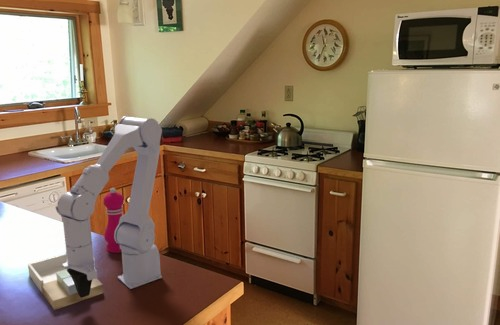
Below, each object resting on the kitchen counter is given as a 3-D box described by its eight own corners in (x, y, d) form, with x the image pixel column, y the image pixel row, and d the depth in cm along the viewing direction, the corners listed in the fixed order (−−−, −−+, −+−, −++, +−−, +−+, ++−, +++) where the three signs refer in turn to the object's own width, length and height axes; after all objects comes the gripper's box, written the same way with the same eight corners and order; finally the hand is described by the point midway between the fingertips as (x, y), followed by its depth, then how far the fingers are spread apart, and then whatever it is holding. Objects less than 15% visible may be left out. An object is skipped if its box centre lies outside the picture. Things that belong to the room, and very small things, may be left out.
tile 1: (74, 275, 116) (73, 266, 116) (80, 281, 113) (79, 273, 112) (57, 280, 113) (56, 272, 113) (62, 287, 110) (61, 278, 110)
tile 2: (81, 282, 113) (80, 273, 112) (87, 289, 109) (86, 280, 109) (63, 287, 110) (62, 279, 109) (69, 295, 107) (68, 286, 106)
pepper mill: (120, 241, 143) (116, 183, 138) (134, 247, 139) (129, 187, 134) (100, 249, 138) (95, 188, 133) (114, 255, 133) (109, 193, 128)
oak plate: (88, 278, 120) (87, 270, 119) (103, 293, 112) (102, 284, 112) (42, 293, 112) (41, 284, 112) (54, 310, 105) (53, 300, 104)
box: (73, 262, 129) (72, 251, 128) (88, 278, 120) (87, 266, 119) (29, 275, 121) (27, 264, 120) (42, 293, 112) (40, 280, 111)
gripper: (51, 237, 104) (57, 289, 108) (72, 258, 94) (78, 314, 97) (80, 230, 109) (85, 279, 112) (104, 249, 98) (108, 303, 101)
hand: (84, 295), depth 105 cm, fingers closed
